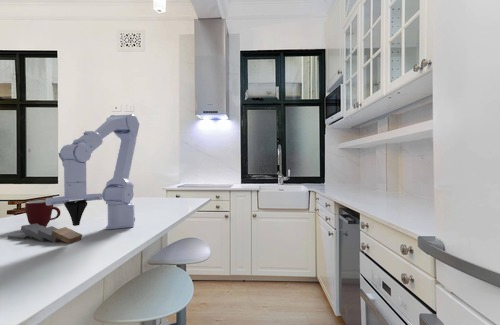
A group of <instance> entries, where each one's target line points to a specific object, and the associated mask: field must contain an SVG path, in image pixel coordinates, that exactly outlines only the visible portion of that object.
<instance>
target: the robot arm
mask: <svg viewBox="0 0 500 325" xmlns="http://www.w3.org/2000/svg"><path fill="white" fill-rule="evenodd" d="M139 128H140V122H139V120H138V118H137V116H136V115H135V114H133V113H130V114H117V115H115V114H111V115H110V116H109V117H106V121H104V122H103V123H102V124H101V125H100V126H99V127H98V128H97V129H95V130H94V131H93V130H85V131H84V132H83V133H82V135H81V136H80V137H78V138H77V139H74V140H72V141H73V142H72V143H70V144H69V143H68V144H64V145H63V146H62V148H60V151H59V152H58V157H59V159H60V161H61V163H62V166H63V175H64V176H63V182H64V183H63V184H64V186H63V187H64V196H57V197H48V198H45V200H46V205H47V206H49V205H53V206H54V205H62V204H64V207H65V208H66V210H67V211H68V214H69V217H70V219H71V223H72V226H74V227H78V226H80V225H81V219H82V216H83V214H84V213H85V212H84V211H85V210H86V208H87V206H88V202H89V201H101V200H103V201H104V202H105V204H106V205H107V225H106V226H105V227H104V229H105V230H115V229H116V230H117V229H127V228H134V226H135V222H136V217H135V202H131V201H132V200H133V197H134V184H133V183H132V181H131V180H129V179H130V178H129V177H130V174H131V168H132V163H133V158H134V153H135V148H136V143H137V138H138V132H139ZM112 133H113V134H114V135H115V136H116V137H117V138H118V139H120V140H121V141H120V145H119V149H118V153H117V158H116V164H115V168H114V172H113V177H112V178H111V179H110V180H108V181H107V182H106V184H105V187H104V189H103V190H102V192H101V193H91V194H90V193H87V162H88V161H89V160H90V159H91V156H92V154H93V152H94V151H95V150H96V149H98V148H99V147H100V146H101V145H102V144H103V143H104V141H103V139H104V138H106V137H107V136H109V135H110V134H112Z"/></svg>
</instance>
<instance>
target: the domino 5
mask: <svg viewBox="0 0 500 325" xmlns="http://www.w3.org/2000/svg"><path fill="white" fill-rule="evenodd" d="M51 236H53V237H55V238H57V239H60V240H62V241H61V242H63V243H66V244H68V245H70V244H72V243H75V242H79V241H80V240H82V238H83V234H81V233H79V232H77V231H75V230H73V229H70V228H68V227H67V226H64V227H61V228H57V230H53V231H52V234H51Z"/></svg>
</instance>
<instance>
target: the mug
mask: <svg viewBox="0 0 500 325" xmlns="http://www.w3.org/2000/svg"><path fill="white" fill-rule="evenodd" d="M24 205H25V206H24V207H25V208H24V209H25V214H26V218H27V221H28V225H30V224H39V225H40V226H44V227H46V228H47V226H48V224H49V223H50V222H51V221H53V220H56V219H58V218H59V217H60V216H61V210H60V208H59V207H58V206H54V205H49V206H47V205H46V199H40V200H38V199H37V200H32V201H27V202H25V203H24ZM53 210H55V211H56V216H54V217H52V214H53Z"/></svg>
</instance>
